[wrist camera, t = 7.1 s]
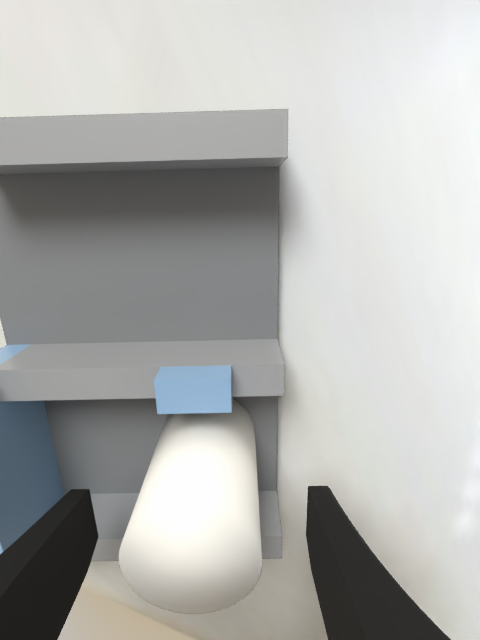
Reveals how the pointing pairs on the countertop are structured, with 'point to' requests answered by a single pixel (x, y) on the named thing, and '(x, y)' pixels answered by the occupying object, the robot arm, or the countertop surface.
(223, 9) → the countertop surface
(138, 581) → the white rounded cylinder
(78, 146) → the grey and blue rack
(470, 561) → the countertop surface
